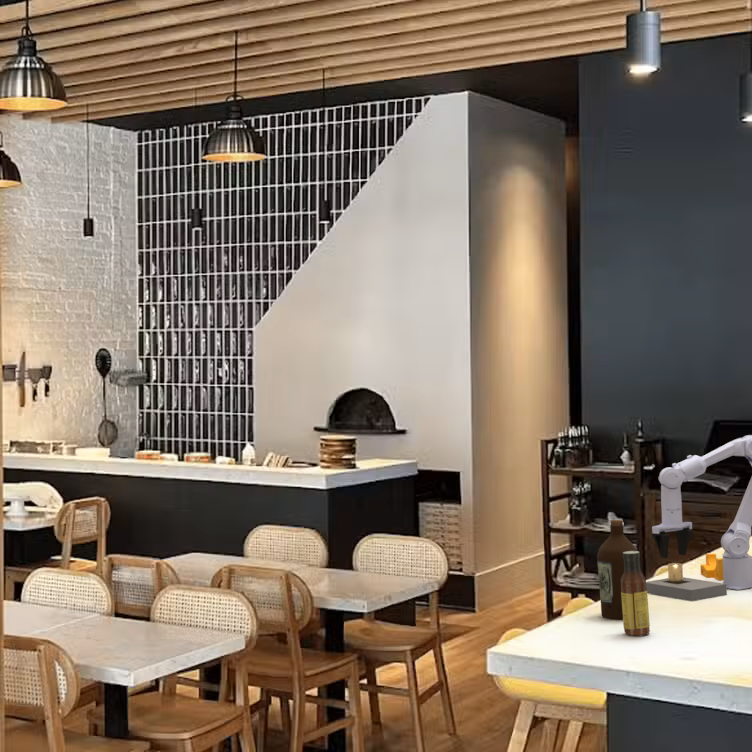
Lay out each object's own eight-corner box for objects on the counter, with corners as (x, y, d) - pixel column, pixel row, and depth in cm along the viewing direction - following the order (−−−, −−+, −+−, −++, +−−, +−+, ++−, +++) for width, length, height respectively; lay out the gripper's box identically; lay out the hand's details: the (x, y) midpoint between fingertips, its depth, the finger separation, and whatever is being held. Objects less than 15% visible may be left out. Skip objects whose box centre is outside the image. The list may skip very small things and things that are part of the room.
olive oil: (628, 611, 330) (625, 516, 330) (648, 618, 320) (645, 520, 320) (591, 614, 327) (588, 519, 327) (611, 622, 317) (607, 523, 317)
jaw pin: (677, 590, 358) (676, 562, 358) (686, 592, 355) (685, 564, 355) (665, 592, 356) (665, 564, 356) (675, 594, 353) (674, 565, 353)
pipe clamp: (700, 575, 384) (700, 554, 384) (714, 574, 384) (714, 553, 384) (713, 581, 372) (712, 559, 372) (727, 580, 372) (727, 559, 372)
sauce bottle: (651, 631, 304) (648, 550, 304) (648, 637, 298) (645, 553, 298) (624, 630, 306) (621, 549, 306) (620, 636, 300) (617, 553, 300)
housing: (678, 586, 364) (678, 576, 364) (726, 594, 349) (726, 583, 349) (643, 592, 356) (643, 582, 356) (691, 601, 341) (691, 590, 341)
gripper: (678, 506, 368) (680, 552, 369) (643, 510, 360) (645, 557, 360) (696, 507, 363) (698, 554, 363) (662, 512, 355) (663, 560, 355)
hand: (673, 556), depth 361 cm, fingers open, 7 cm apart
